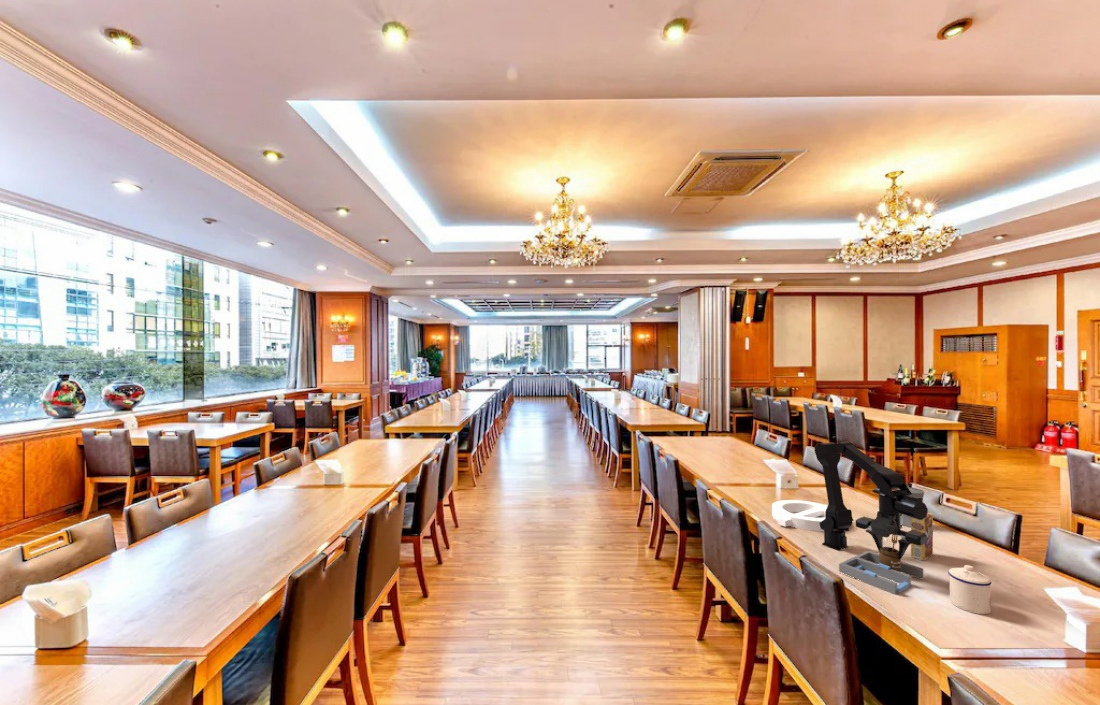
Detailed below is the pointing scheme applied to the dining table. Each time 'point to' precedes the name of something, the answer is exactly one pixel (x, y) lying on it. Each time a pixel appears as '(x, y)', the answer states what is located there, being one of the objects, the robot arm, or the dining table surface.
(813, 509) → the ring with crossbar
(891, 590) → the divider rack
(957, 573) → the teacup with lid
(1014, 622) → the dining table surface
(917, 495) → the coffeepot
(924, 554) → the candy box
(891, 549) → the utensil holder
